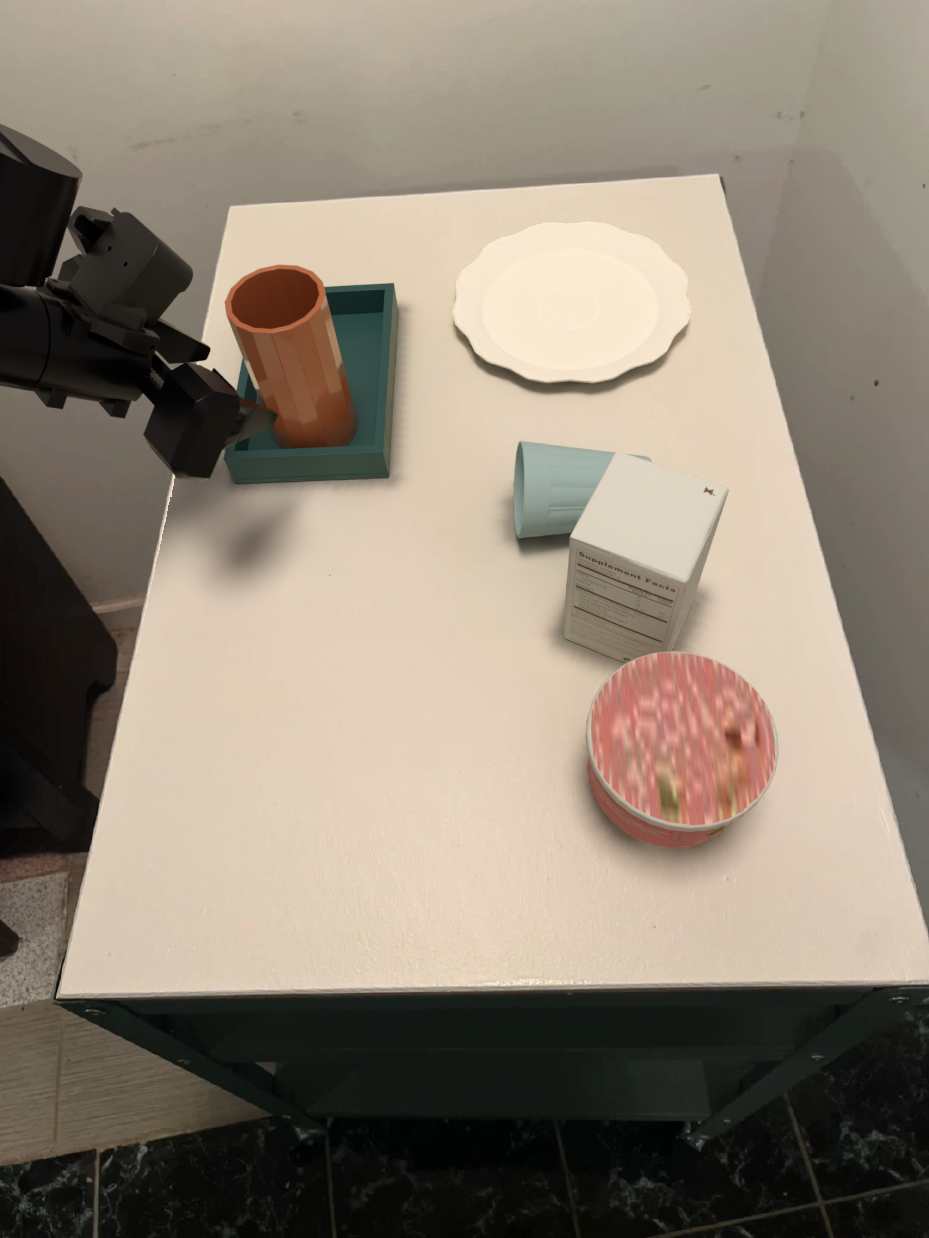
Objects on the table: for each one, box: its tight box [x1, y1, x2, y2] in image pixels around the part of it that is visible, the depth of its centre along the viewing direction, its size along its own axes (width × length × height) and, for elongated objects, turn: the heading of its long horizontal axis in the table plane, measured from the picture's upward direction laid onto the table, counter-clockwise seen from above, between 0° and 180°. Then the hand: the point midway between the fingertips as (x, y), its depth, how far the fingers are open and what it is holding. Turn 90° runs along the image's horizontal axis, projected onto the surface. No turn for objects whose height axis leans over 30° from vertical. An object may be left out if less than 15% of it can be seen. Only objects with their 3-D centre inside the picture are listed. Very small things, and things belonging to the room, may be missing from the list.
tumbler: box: [224, 264, 357, 449], centre depth 63 cm, size 7×7×13 cm
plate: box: [451, 220, 692, 384], centre depth 74 cm, size 21×21×2 cm
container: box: [585, 650, 780, 849], centre depth 49 cm, size 10×10×8 cm
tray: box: [223, 282, 399, 485], centre depth 70 cm, size 20×13×3 cm, turn 0°
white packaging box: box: [562, 451, 730, 664], centre depth 53 cm, size 7×7×13 cm
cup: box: [513, 440, 653, 539], centre depth 61 cm, size 7×7×10 cm
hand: (240, 385), depth 61 cm, fingers open, 9 cm apart
